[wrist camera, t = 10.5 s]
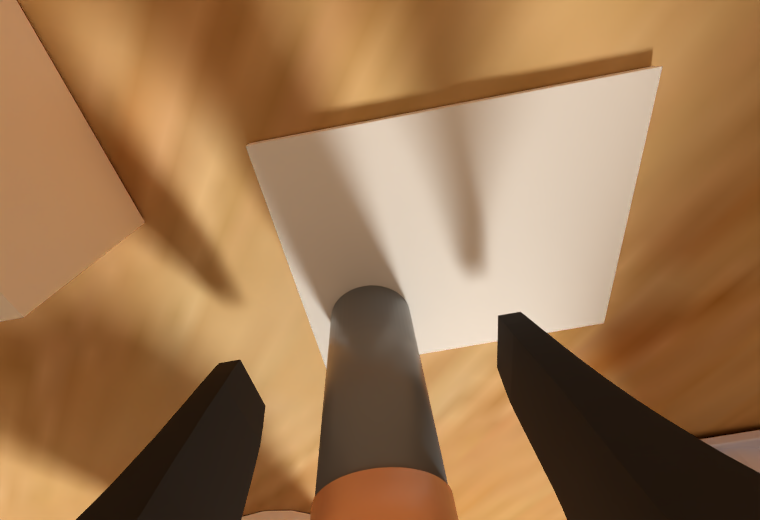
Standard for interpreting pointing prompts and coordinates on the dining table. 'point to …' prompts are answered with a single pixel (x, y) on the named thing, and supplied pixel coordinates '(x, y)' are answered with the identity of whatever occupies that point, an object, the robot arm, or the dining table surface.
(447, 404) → the dining table surface
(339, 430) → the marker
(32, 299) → the rectangular block
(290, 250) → the paper
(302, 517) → the foam cup
